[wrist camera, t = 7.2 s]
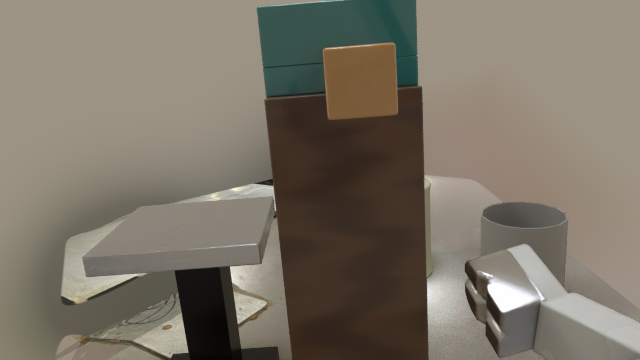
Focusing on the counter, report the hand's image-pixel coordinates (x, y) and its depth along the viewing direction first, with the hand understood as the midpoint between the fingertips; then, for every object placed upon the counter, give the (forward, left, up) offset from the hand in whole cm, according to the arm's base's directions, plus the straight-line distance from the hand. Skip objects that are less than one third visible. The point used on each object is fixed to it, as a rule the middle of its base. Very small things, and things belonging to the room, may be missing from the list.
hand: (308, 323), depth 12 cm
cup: (+21, +37, -22) cm, 48 cm away
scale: (-10, +25, -22) cm, 35 cm away
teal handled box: (+2, +13, +4) cm, 14 cm away
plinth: (+2, +18, -22) cm, 28 cm away
